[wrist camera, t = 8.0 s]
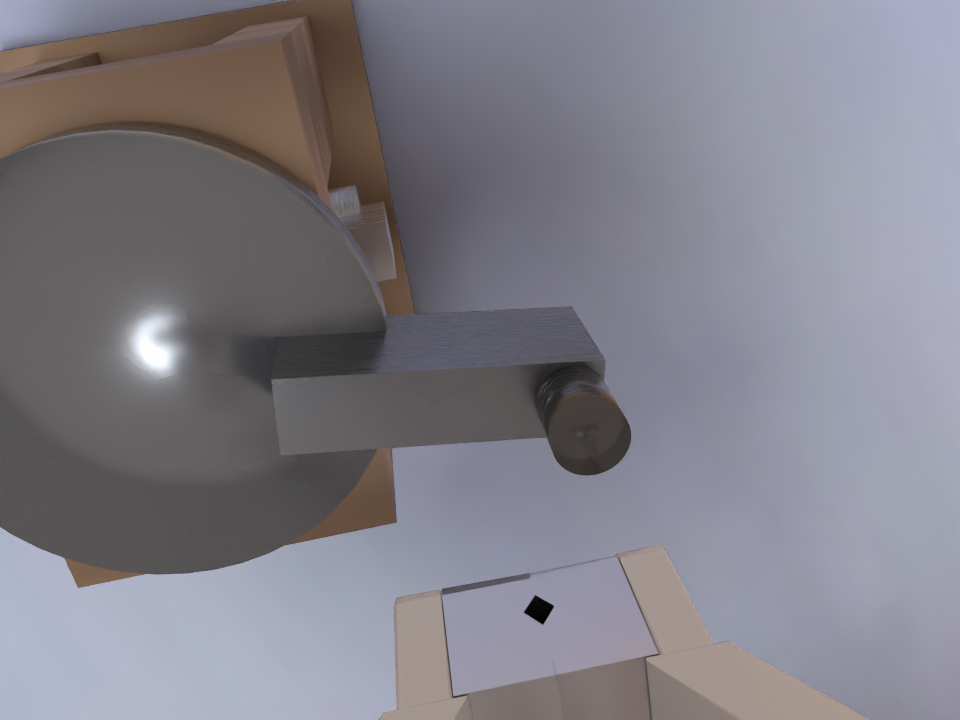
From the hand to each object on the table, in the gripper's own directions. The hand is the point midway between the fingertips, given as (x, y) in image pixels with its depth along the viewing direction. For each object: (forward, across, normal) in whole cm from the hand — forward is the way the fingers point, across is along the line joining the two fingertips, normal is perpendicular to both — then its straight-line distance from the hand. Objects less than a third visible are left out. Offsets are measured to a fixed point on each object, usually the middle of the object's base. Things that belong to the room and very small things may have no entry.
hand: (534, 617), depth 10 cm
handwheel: (+12, +5, +1) cm, 13 cm away
